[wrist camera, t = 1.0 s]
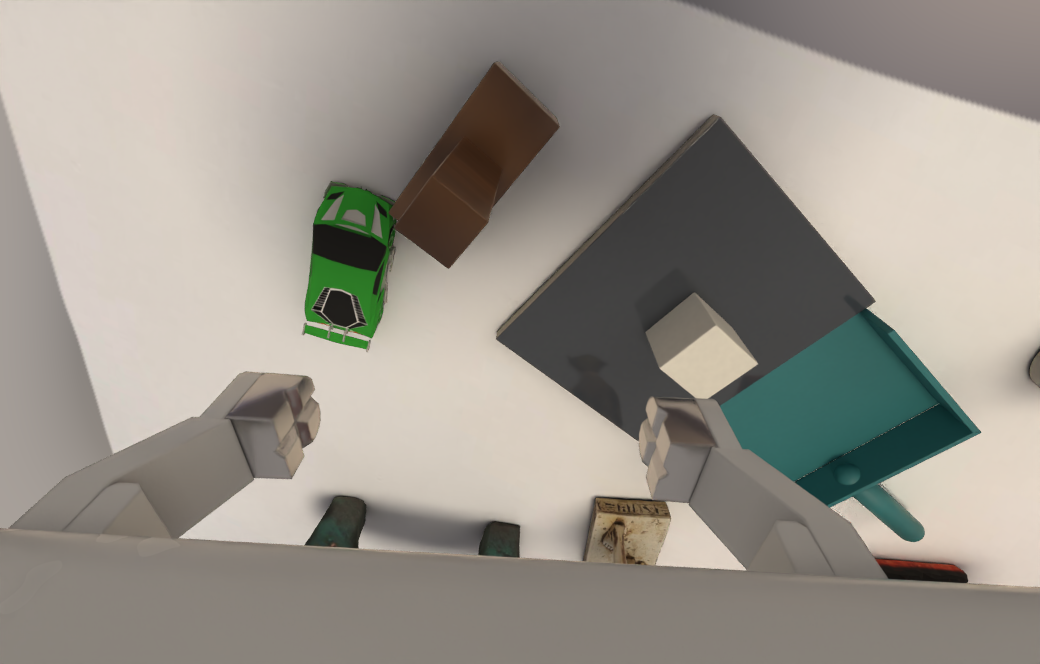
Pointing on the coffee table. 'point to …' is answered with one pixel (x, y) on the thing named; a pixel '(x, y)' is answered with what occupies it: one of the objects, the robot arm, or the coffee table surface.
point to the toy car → (349, 264)
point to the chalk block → (699, 348)
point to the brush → (473, 166)
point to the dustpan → (850, 418)
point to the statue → (627, 531)
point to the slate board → (685, 281)
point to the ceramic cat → (349, 519)
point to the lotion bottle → (1035, 370)
